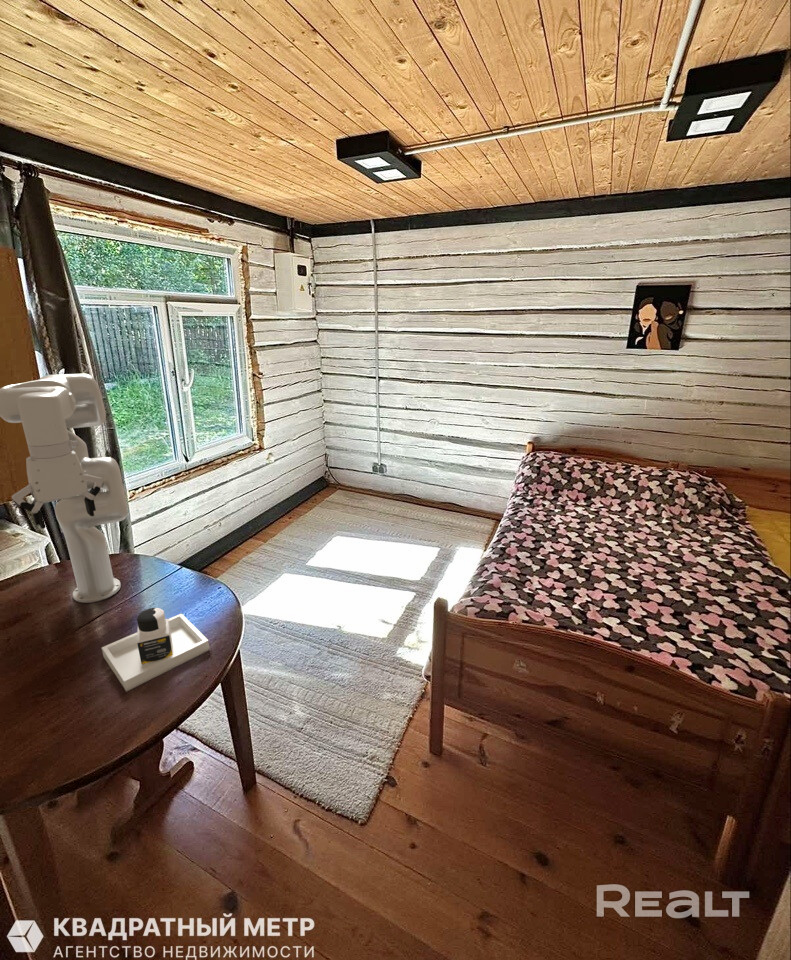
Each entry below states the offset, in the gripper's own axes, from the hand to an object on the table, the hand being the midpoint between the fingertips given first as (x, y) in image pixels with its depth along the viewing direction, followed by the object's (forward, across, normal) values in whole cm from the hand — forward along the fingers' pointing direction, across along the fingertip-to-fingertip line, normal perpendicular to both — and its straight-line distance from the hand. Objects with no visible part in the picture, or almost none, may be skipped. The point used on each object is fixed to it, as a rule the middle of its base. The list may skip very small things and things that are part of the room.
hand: (67, 520), depth 109 cm
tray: (+36, -10, +13) cm, 40 cm away
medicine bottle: (+36, -10, +13) cm, 40 cm away
